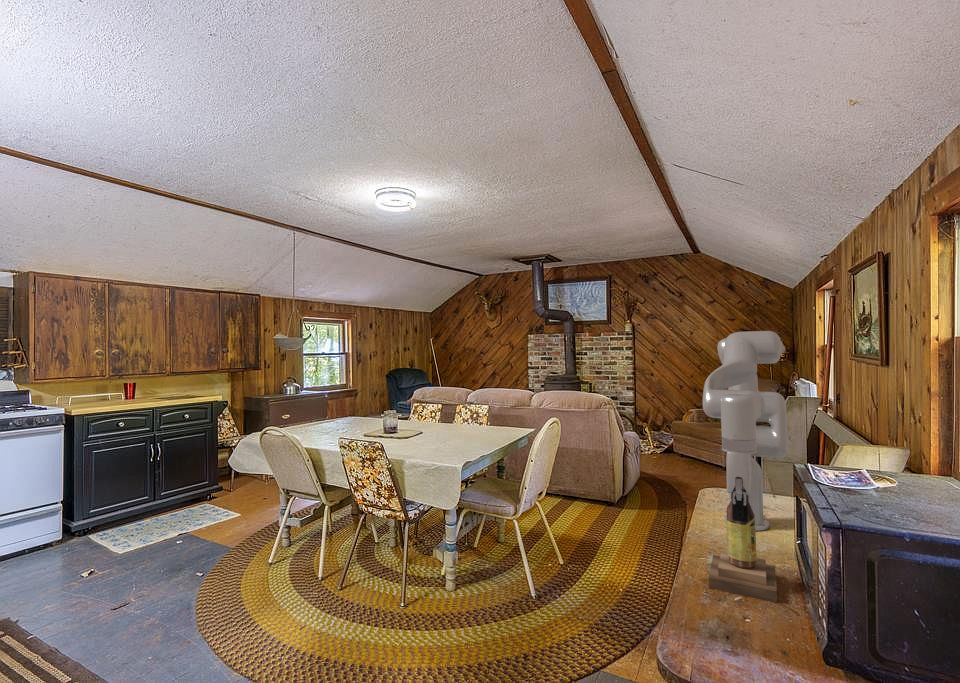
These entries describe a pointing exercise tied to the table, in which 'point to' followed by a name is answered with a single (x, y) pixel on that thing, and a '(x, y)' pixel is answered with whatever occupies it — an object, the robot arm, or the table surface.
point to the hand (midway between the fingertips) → (740, 513)
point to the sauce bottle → (741, 538)
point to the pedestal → (743, 578)
